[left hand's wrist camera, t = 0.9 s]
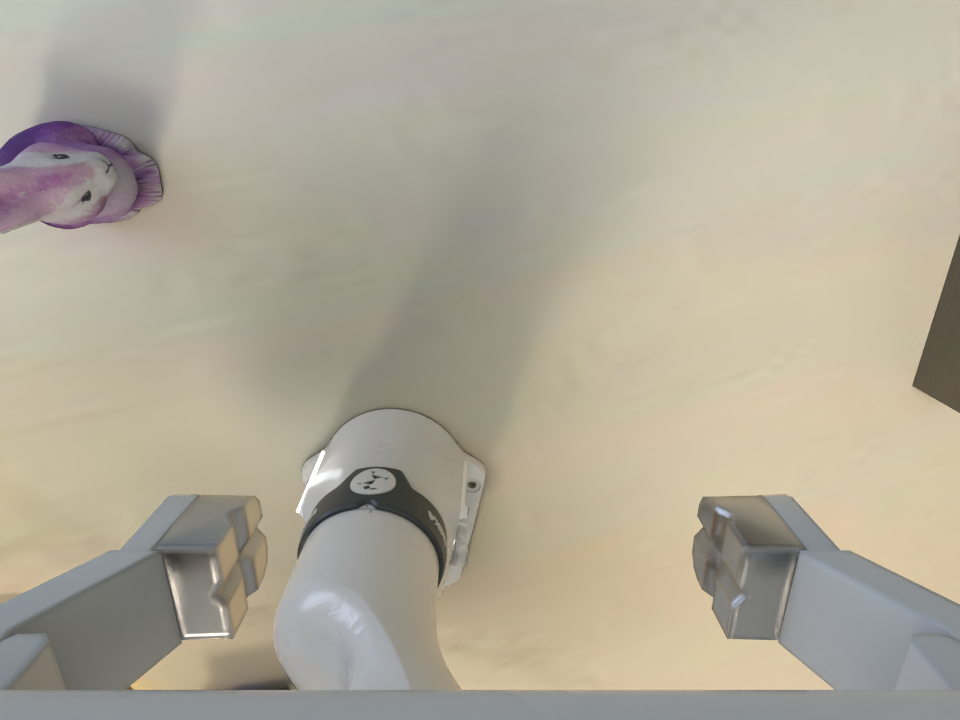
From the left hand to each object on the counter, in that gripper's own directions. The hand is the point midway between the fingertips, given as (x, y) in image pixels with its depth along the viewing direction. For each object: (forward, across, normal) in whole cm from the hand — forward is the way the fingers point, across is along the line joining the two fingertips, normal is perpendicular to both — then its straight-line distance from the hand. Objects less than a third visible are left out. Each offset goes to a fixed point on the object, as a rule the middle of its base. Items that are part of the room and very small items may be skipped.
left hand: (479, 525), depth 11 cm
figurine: (+42, -31, +5) cm, 53 cm away
